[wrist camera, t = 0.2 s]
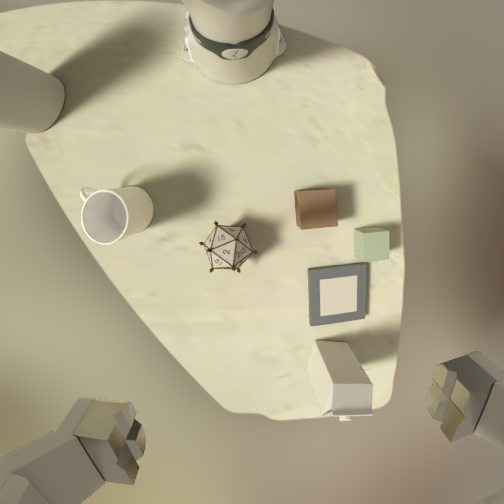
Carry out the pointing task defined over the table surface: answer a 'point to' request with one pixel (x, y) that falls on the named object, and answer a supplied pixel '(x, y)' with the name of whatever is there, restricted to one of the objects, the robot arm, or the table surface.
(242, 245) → the game die
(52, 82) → the cylinder vase
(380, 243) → the sage cube
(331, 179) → the table surface
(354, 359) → the milk carton
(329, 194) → the walnut block
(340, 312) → the board
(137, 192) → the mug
